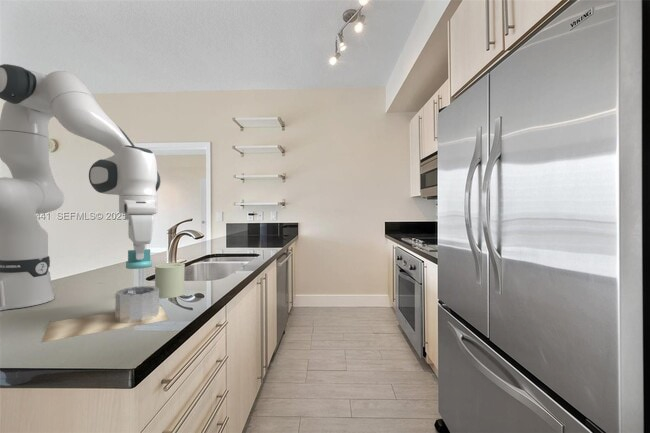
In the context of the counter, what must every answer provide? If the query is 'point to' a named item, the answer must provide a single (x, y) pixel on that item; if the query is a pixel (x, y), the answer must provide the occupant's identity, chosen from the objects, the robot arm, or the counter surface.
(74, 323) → the base plate
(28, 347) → the counter surface
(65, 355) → the counter surface
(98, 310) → the counter surface
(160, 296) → the can
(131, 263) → the teal disc with post
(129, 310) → the white thick faceted ring
